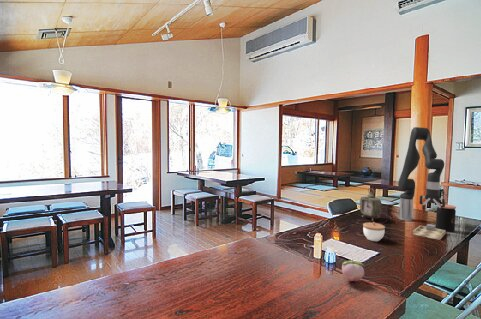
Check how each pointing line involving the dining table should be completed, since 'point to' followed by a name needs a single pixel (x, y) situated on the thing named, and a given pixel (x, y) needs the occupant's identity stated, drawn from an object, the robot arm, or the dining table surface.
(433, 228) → the gray cube
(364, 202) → the tabletop clock
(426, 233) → the tray
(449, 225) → the coffee jar
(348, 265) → the decorative fruit
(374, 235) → the lidded bowl
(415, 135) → the robot arm
